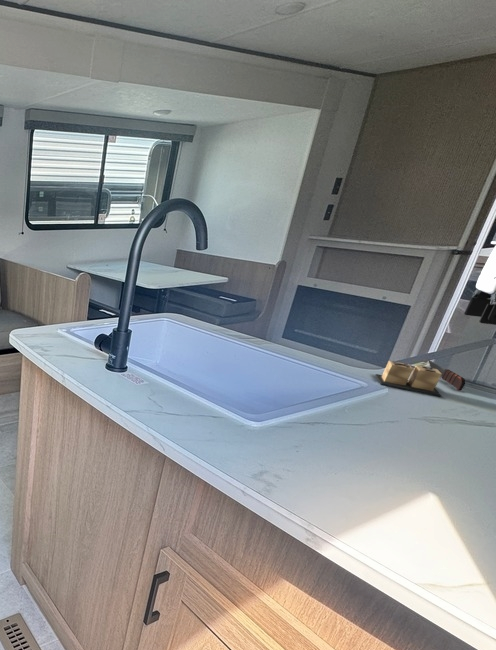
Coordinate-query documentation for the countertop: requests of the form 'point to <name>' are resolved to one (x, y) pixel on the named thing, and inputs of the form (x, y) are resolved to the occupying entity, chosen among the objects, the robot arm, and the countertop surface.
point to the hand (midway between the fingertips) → (481, 319)
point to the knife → (449, 376)
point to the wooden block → (397, 372)
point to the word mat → (407, 387)
